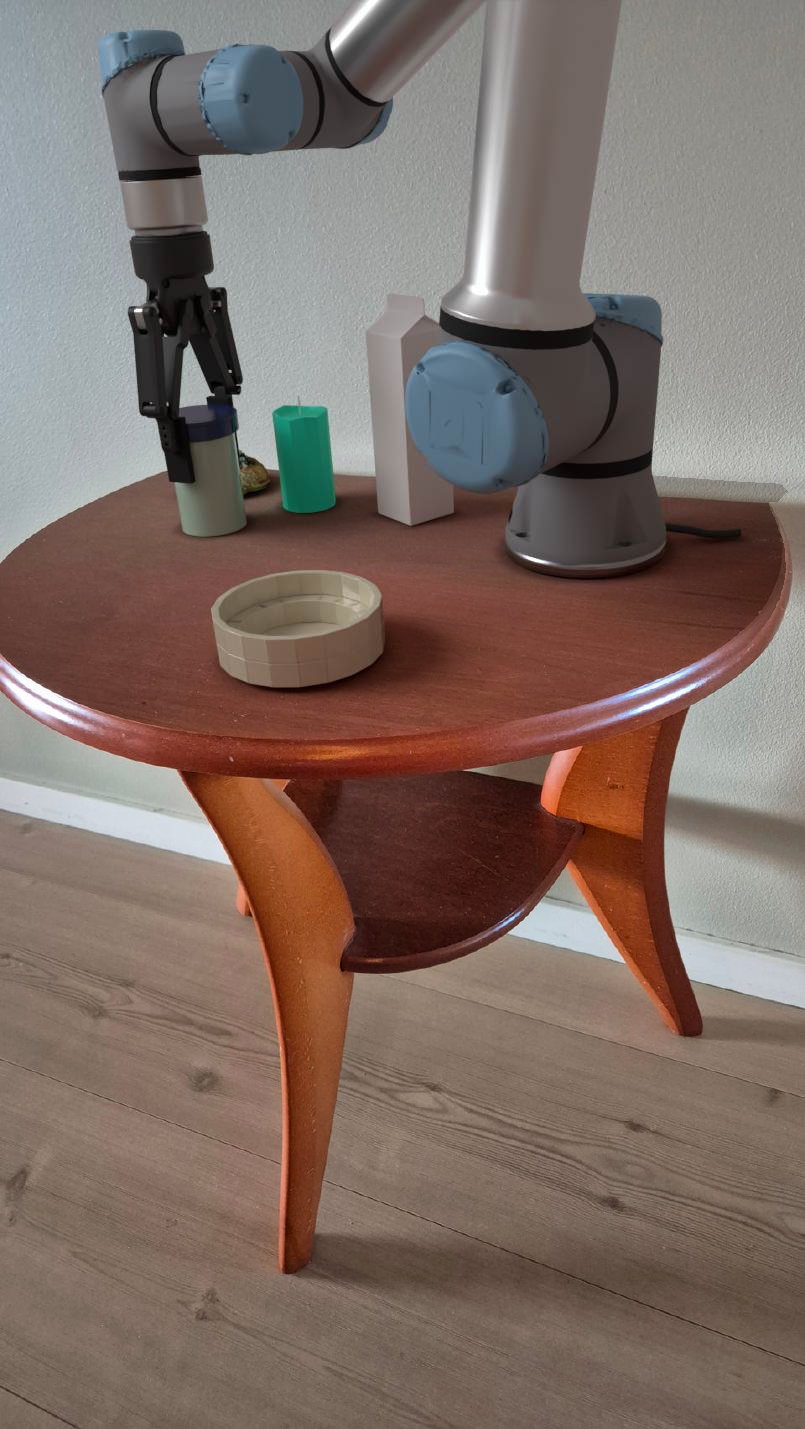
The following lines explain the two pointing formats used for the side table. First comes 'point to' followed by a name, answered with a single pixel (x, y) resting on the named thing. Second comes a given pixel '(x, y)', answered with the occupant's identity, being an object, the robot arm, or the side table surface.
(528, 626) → the side table surface
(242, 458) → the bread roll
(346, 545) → the side table surface
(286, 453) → the candle
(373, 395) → the milk
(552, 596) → the side table surface
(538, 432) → the robot arm
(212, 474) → the jar
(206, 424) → the lid
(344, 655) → the dish
